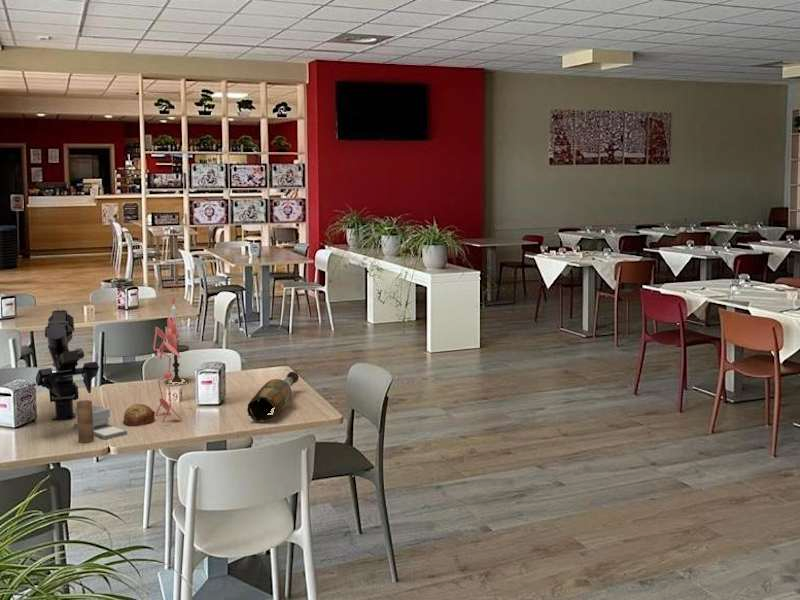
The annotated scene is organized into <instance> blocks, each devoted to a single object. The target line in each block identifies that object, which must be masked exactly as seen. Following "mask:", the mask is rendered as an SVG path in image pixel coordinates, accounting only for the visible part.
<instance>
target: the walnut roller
mask: <svg viewBox="0 0 800 600" xmlns="http://www.w3.org/2000/svg"><path fill="white" fill-rule="evenodd" d="M75 403H76V408H77V416H76V417H77V418H76V421H77V420H78V429H77V433H78V435H77V436H78V437H77V438H78V443H80V444H90V443H93V442H94V441H95V436H94V430H93V413H92V405H93V400H91V399H88V400H87V399H86V400H85V399H82V400H77V401H76V402H75Z"/></svg>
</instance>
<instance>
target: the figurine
mask: <svg viewBox="0 0 800 600" xmlns="http://www.w3.org/2000/svg"><path fill="white" fill-rule="evenodd" d="M166 323H167V325H166V327H167V328H166V329H165V331H163V330H162V329H160V328H159V327H158V326H155V328H154V331H155V333H154V334H155V335H154V338H153V339H154V340H153V347H152V348H153V349H152V350H153V351H156V352H157V354H158V357H159V360H161V359H162V357H163V356H166V357H167V358H169V359H168V361H169V362H168V370H167V371H165V372H164V374H163V377H162V378H160V379H158V380H157V384H158V387H159V391H160V395H161V397H160V398H158V399H159V406H158V408H157V410H156V412H155V414H154V416H156V417H157V415H158V414H159V411H160V409H161V407H162V408H164V410H166V412H165V414H164V416H163V419H162V422H163V423H164V422H165V420H166V417H167V415H168V413H169V412H170V411H171V410H172V412H173V413H174V414H175V415H176V416H177V417H178V419H179V420H180V421H182V418H181V417H180V416H179V415H178V413H177V412H176V410H174V408H172V403H171V402H172V401H171V400H172V399H171V389H170V388H171V386H170V379H172V376H173V374H172V372H171V371H170V370H171V362H172V357H171V356H170V355H169V354H167V353H165V352H163V348H164V347H165V346H166V347H167V348H168V349H169V351H170V352H172V353H173V354H172V353H171V354H172V355H173V356H174V355H176V356H177V358H179V359H181V358H182V357H181V355H180V353H179V354H178V352H177V340H178V339H179V337H180V331H179V329H178V328H177V329H176V322H175V317H173V318H172V317H171V316H170V315H168V316H167V322H166ZM157 337H160V338H161V339H162V343H161V344H160V346H159V348H157V349H156V342H157ZM166 340H168V341H167V342H166ZM161 348H162V350H161ZM163 379H166V380H169V385H168V397H169V403H168V401H166V399H165V398H164V397H163V392H162V388H161V384H160V381H162V380H163ZM185 409H189V410H192V411H196V412H198V410H196V409H194V408H192V407H185ZM165 426H166V427H167V426H170V424H168V425H167V424H166V425H164V427H165Z"/></svg>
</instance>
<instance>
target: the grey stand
mask: <svg viewBox="0 0 800 600" xmlns="http://www.w3.org/2000/svg"><path fill="white" fill-rule="evenodd" d="M110 410H111V409H109V408H107V407H104V406H100V405H97V404H95V403H94V404H93V403H92V413H93V430H94V437H96V438H98V439H100V440H103V439H104V441H105V440H109V438H110V439H113V438H112V437H114V438H117V437H116V436H118V437H121V436H120V435H122V436H126V435H128V431H127V430H125V429H123V428H119V427H117V426H114V425H112V424H109V422H110V421H109V418H110V417H111V413H110ZM73 411H74V413H75V416H74V417H77V407H75V408H74V407H73ZM72 425H73V429H76V430H78V420H77V419H76V423H74V424H72ZM125 434H126V435H125Z"/></svg>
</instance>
